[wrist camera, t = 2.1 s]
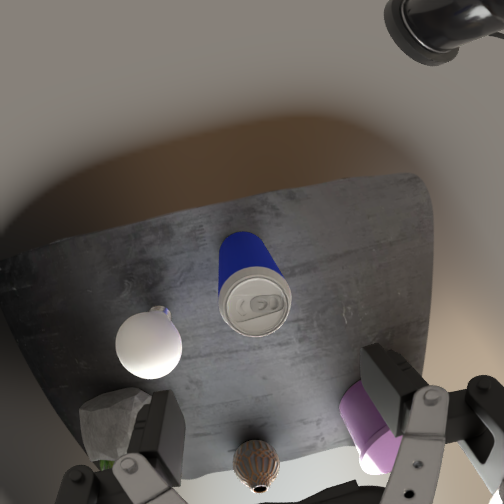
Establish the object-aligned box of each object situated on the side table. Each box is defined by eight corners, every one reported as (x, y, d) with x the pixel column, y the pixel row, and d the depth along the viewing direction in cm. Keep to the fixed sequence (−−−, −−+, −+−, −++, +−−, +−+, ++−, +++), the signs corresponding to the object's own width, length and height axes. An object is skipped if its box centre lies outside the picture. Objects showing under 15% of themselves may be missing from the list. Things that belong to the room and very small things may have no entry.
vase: (224, 453, 43) (226, 495, 35) (245, 428, 42) (251, 472, 34) (261, 463, 45) (267, 503, 36) (284, 440, 44) (294, 481, 35)
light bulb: (170, 347, 38) (156, 403, 27) (125, 318, 36) (96, 367, 26) (199, 308, 37) (192, 358, 26) (151, 276, 36) (126, 317, 25)
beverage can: (222, 278, 36) (224, 345, 22) (215, 234, 35) (212, 276, 21) (267, 271, 37) (297, 334, 22) (262, 227, 35) (291, 265, 21)
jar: (401, 361, 42) (441, 405, 31) (397, 411, 45) (428, 455, 34) (333, 384, 42) (362, 438, 31) (337, 432, 44) (360, 483, 33)
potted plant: (169, 383, 35) (208, 475, 35) (124, 373, 44) (158, 453, 43) (83, 423, 26) (140, 521, 26) (56, 400, 34) (99, 484, 34)
